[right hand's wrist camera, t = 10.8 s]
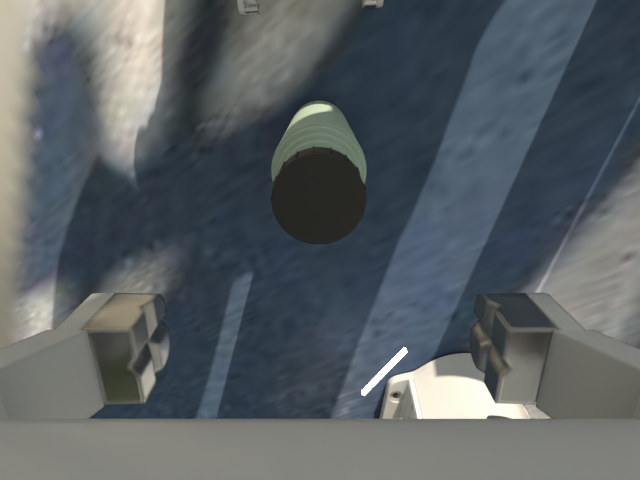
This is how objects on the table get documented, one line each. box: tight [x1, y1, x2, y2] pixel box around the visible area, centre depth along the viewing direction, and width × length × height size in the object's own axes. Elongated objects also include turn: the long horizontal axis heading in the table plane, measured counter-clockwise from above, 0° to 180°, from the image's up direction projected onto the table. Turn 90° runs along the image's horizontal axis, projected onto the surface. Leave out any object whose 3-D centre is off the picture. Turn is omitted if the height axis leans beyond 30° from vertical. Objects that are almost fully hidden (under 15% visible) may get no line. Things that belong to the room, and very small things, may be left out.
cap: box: [271, 146, 366, 244], centre depth 20 cm, size 4×4×2 cm
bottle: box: [271, 101, 366, 184], centre depth 31 cm, size 5×5×24 cm
